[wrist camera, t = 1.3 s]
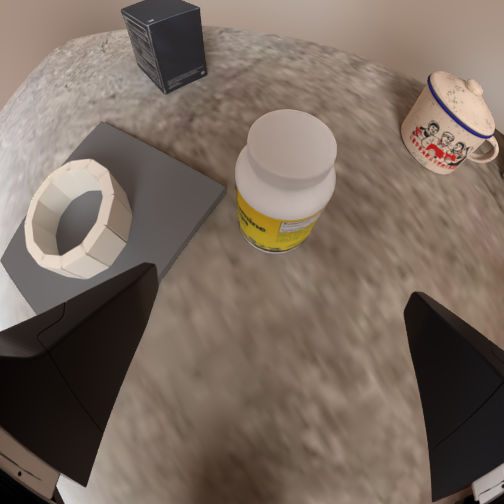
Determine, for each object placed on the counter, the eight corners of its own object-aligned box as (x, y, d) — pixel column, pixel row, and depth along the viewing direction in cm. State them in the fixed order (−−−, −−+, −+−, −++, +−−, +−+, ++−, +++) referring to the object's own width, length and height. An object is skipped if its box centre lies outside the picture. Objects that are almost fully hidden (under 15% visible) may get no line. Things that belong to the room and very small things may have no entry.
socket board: (99, 376, 20) (67, 383, 15) (5, 262, 22) (-23, 250, 17) (226, 192, 24) (221, 160, 20) (104, 126, 27) (88, 98, 22)
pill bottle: (228, 201, 24) (217, 112, 14) (293, 181, 25) (318, 92, 14) (252, 266, 23) (256, 207, 12) (321, 242, 23) (372, 174, 13)
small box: (211, 74, 29) (203, 5, 19) (165, 96, 28) (144, 26, 18) (176, 47, 32) (165, -9, 22) (136, 65, 31) (118, 9, 21)
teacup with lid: (393, 151, 26) (442, 78, 15) (402, 107, 29) (437, 44, 18) (471, 203, 25) (532, 155, 14) (471, 153, 27) (517, 104, 16)
